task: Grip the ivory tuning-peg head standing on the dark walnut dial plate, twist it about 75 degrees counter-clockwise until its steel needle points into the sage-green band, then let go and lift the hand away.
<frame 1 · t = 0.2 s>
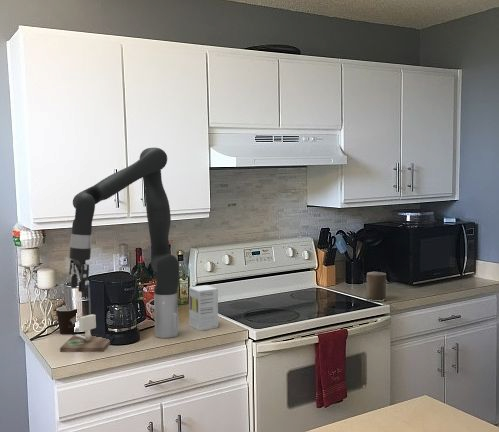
hand: (77, 289, 216), 22 cm above the worktop, tool pointing down, fingers open, 8 cm apart
tuning peg: (82, 326, 223), point 6 cm above the worktop, hinge at 0.0°
coffee mug: (71, 332, 239), on the worktop
supplement box: (203, 327, 246), on the worktop
dial plate: (88, 344, 221), on the worktop
pillar candle: (375, 300, 293), on the worktop
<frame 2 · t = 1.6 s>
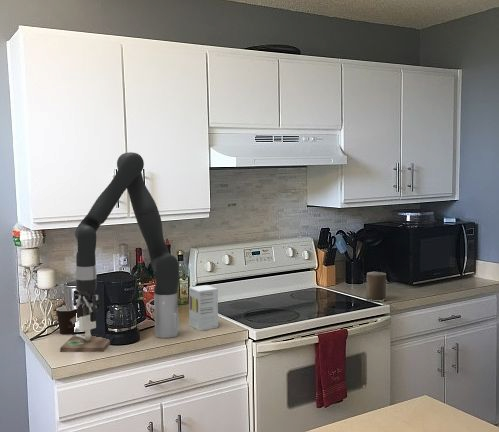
hand: (86, 319, 220), 10 cm above the worktop, tool pointing down, fingers open, 8 cm apart
nothing on the worktop moved.
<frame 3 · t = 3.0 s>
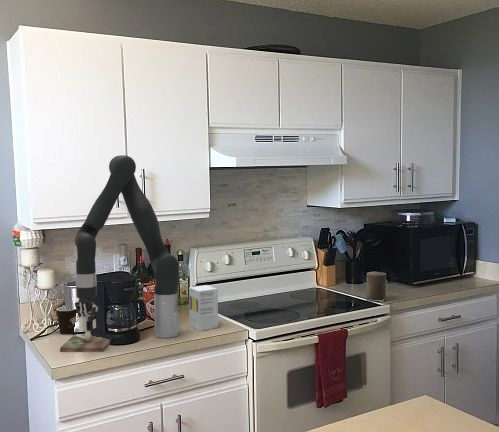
hand: (87, 329, 221), 6 cm above the worktop, tool pointing down, fingers closed on tuning peg, 2 cm apart
tuning peg: (82, 326, 223), point 6 cm above the worktop, hinge at 0.0°, touching gripper
everything else where it was.
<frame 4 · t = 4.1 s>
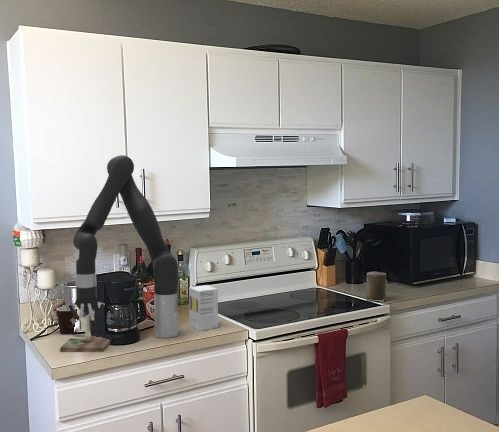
hand: (87, 329, 221), 6 cm above the worktop, tool pointing down, fingers closed on tuning peg, 3 cm apart
tuning peg: (80, 327, 222), point 6 cm above the worktop, hinge at 24.6°, touching gripper
everything else where it was.
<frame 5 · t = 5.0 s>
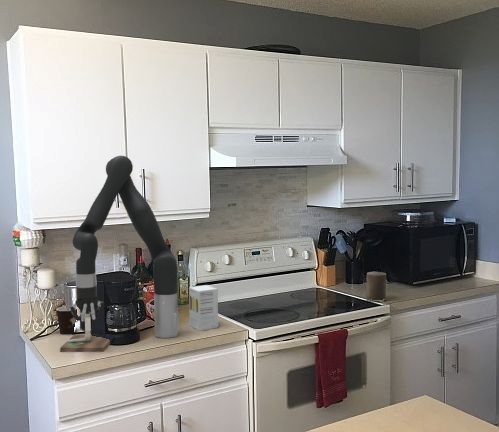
hand: (87, 329, 221), 6 cm above the worktop, tool pointing down, fingers closed on tuning peg, 2 cm apart
tuning peg: (78, 329, 220), point 6 cm above the worktop, hinge at 58.6°, touching gripper
everything else where it was.
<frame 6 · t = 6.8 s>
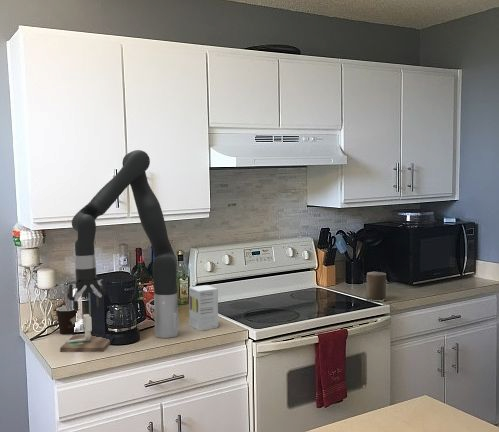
hand: (87, 308, 220), 14 cm above the worktop, tool pointing down, fingers open, 8 cm apart
tuning peg: (78, 329, 219), point 6 cm above the worktop, hinge at 66.1°
everything else where it was.
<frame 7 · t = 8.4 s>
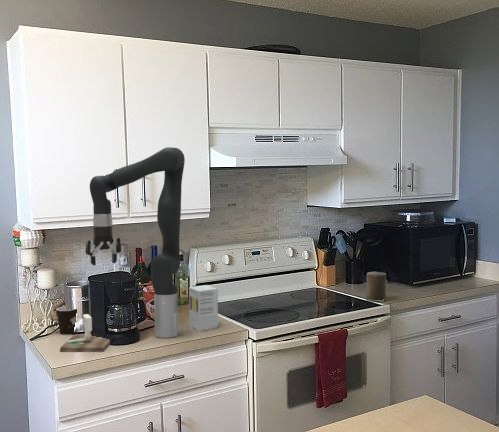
hand: (103, 264, 237), 28 cm above the worktop, tool pointing down, fingers open, 8 cm apart
tuning peg: (78, 329, 219), point 6 cm above the worktop, hinge at 67.4°
everything else where it was.
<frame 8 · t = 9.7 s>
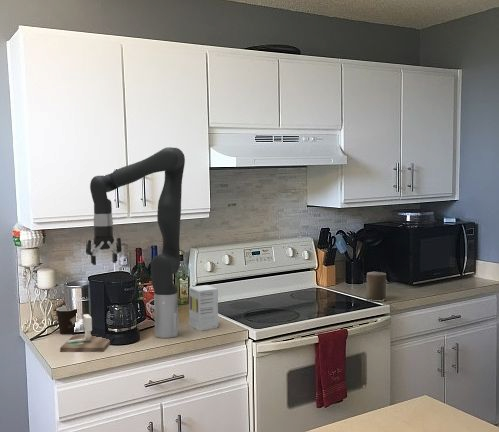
hand: (104, 263, 238), 28 cm above the worktop, tool pointing down, fingers open, 8 cm apart
nothing on the worktop moved.
at the end: tuning peg at +68° (first picture: +0°); the gripper is holding nothing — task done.
